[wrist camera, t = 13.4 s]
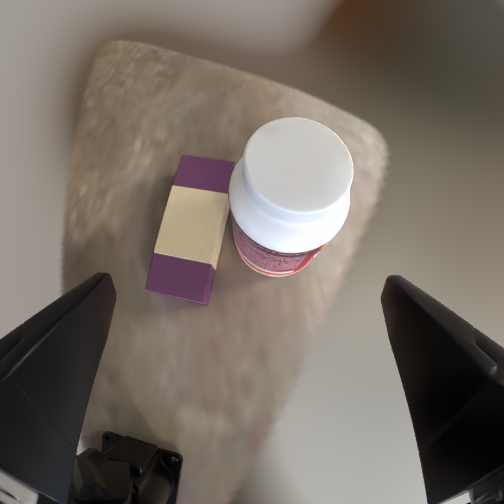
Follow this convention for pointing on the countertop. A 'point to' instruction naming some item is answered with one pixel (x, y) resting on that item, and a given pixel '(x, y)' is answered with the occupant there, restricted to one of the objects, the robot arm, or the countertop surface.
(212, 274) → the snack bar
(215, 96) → the countertop surface
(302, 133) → the pill bottle
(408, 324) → the robot arm
